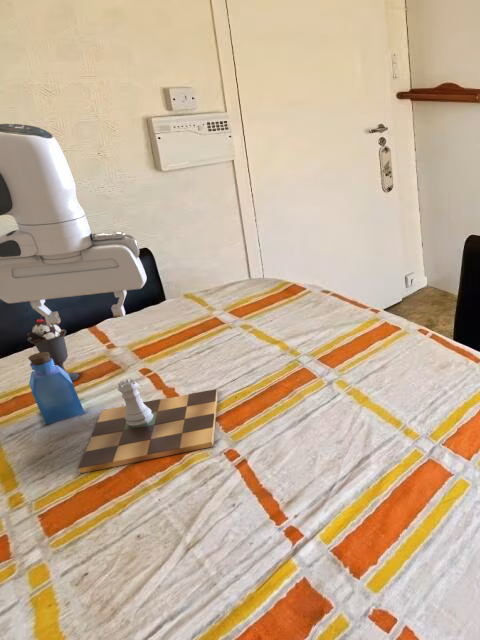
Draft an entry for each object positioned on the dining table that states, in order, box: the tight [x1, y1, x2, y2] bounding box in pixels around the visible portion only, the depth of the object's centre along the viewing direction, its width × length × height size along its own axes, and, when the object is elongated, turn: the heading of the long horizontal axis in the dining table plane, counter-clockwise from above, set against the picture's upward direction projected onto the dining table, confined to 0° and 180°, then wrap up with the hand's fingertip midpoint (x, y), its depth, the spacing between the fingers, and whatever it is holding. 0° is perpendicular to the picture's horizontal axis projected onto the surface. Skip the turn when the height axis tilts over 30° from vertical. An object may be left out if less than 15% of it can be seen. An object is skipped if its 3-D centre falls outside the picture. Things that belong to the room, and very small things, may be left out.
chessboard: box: [77, 388, 219, 474], centre depth 112 cm, size 20×20×1 cm
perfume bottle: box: [27, 352, 85, 426], centre depth 116 cm, size 6×6×12 cm
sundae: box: [26, 315, 80, 382], centre depth 127 cm, size 7×7×15 cm
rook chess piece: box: [117, 378, 153, 427], centre depth 111 cm, size 4×4×8 cm
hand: (87, 319), depth 103 cm, fingers open, 8 cm apart
